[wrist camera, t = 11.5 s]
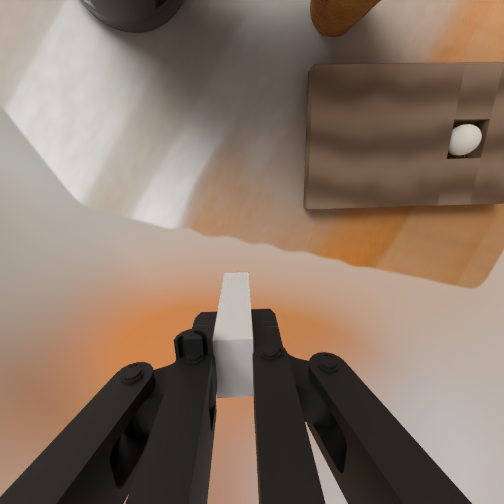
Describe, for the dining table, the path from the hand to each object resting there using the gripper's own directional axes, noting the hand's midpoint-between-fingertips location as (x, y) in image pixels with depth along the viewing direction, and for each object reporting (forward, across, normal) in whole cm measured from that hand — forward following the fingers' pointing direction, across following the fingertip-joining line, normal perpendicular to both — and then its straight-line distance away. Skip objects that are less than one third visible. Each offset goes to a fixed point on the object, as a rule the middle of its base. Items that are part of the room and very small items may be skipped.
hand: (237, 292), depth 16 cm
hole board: (+24, +25, +11) cm, 37 cm away
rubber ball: (+22, +32, +11) cm, 40 cm away
